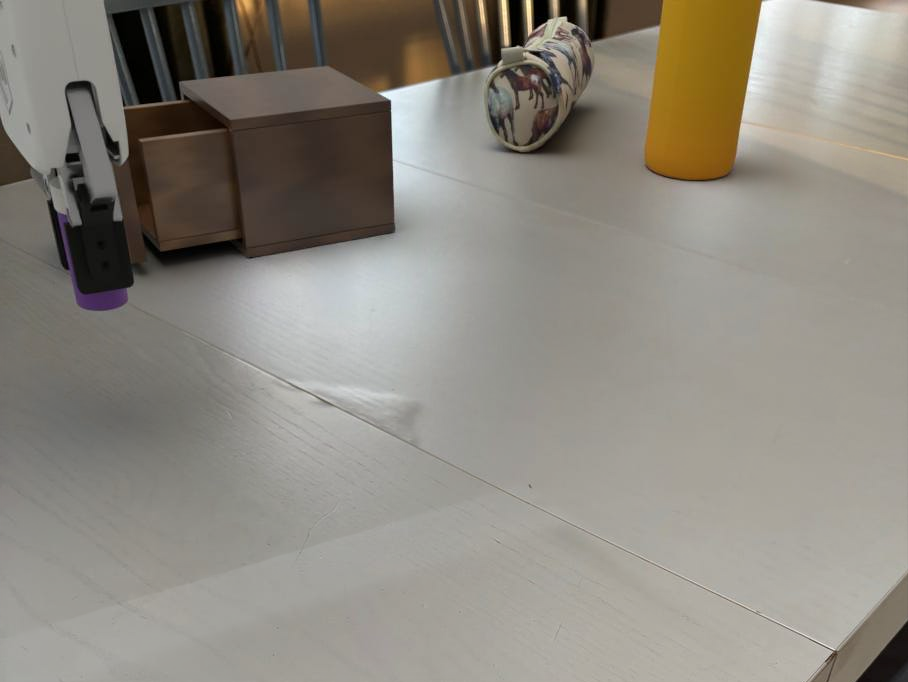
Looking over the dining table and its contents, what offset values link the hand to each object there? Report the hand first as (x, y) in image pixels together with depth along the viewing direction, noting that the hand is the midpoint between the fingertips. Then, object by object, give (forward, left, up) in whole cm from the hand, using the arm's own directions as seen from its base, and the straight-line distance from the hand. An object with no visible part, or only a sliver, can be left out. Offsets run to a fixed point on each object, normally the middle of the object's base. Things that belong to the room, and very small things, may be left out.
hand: (97, 274), depth 62 cm
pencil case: (+58, +42, -9) cm, 72 cm away
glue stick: (0, 0, -2) cm, 2 cm away
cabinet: (+22, +26, -8) cm, 35 cm away
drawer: (+10, +26, -7) cm, 29 cm away
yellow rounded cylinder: (+64, +23, -9) cm, 69 cm away
